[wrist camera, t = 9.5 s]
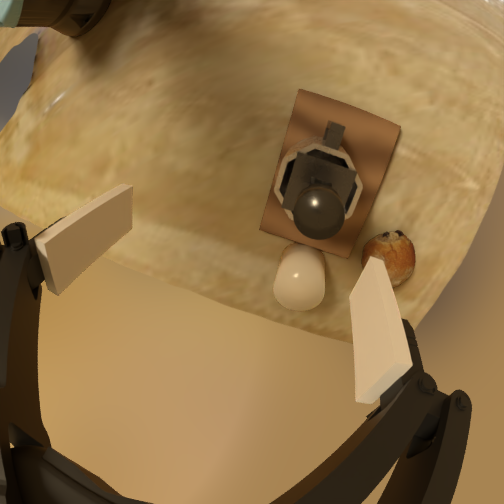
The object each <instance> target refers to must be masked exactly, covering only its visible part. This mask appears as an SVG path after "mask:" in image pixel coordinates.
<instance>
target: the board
mask: <svg viewBox="0 0 504 504" xmlns="http://www.w3.org/2000/svg"><path fill="white" fill-rule="evenodd" d="M328 120H330V121H333V122H336V123H339V124H341V125H343V126H345V127H346V128H345V131H344V134H343V137H342V141H341V144H340V145H341V146H342V147H343V148H344V150H345V151H346V152H347V154H348V155H349V157H350V159H351V161H352V163H353V165H354V167H355V169H356V171H357V174H358V176H359V178H360V180H361V182H362V185H363V189H362V191H361V194H360V197H359V199H358V202H357V204H356V206H355V209H354V211H353V214H352V216H350V218H348V219H345V220H344V224H343V226H342V228H341V229H340V231H339V232H338V233H337V234H336V235H334V236H333V237H331V238H328V239H324V240H315V239H310V238H308V237H306V236H304V235H303V234H302V233H301V232H300V231H299V230H298V229H297V227H296V226H295V223H294V221H293V220H291V218H290V219H289V217H288V215H287V213H286V212H285V210H284V208H281V206H282V205H281V203H280V201H279V199H278V198H277V196H276V194H275V192H274V187H275V184H276V180H277V177H278V173H279V170H280V166H281V163H282V159H283V158H284V156H285V155H286V153H287V152H288V150H289V149H290V148H291V147H292V146H294V145H296V144H297V143H298V142H300V141H302V140H304V139H306V138H310V137H312V136H314V137H315V136H318V137H323V136H324V133H325V130H326V126H327V123H328ZM400 128H401V126H399V125H397V124H394V123H392V122H390V121H388V120H386V119H383V118H381V117H379V116H376V115H374V114H372V113H369V112H367V111H364V110H362V109H359V108H356V107H354V106H351V105H348V104H346V103H343V102H340V101H337V100H334V99H331V98H328V97H325V96H322V95H319V94H316V93H312V92H309V91H306V90H302V89H299V90H298V94H297V97H296V101H295V104H294V108H293V111H292V115H291V119H290V122H289V126H288V129H287V133H286V136H285V140H284V143H283V147H282V151H281V154H280V158H279V161H278V165H277V168H276V172H275V175H274V179H273V183H272V186H271V190H270V193H269V197H268V200H267V204H266V207H265V211H264V215H263V218H262V222H261V225H260V229H259V230H262V231H265V232H268V233H271V234H275V235H278V236H281V237H284V238H287V239H290V240H293V241H296V242H299V243H302V244H305V245H308V246H311V247H314V248H317V249H320V250H323V251H326V252H329V253H332V254H335V255H338V256H341V257H344V258H346V259H348V257H349V255H350V252H351V250H352V248H353V246H354V244H355V242H356V240H357V237H358V235H359V233H360V231H361V229H362V226H363V224H364V222H365V219H366V217H367V215H368V213H369V210H370V208H371V205H372V203H373V201H374V198H375V196H376V193H377V191H378V188H379V186H380V183H381V181H382V178H383V176H384V173H385V170H386V168H387V165H388V162H389V160H390V157H391V154H392V151H393V148H394V146H395V143H396V140H397V137H398V134H399V131H400Z"/></svg>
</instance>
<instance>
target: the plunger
mask: <svg viewBox="0 0 504 504" xmlns="http://www.w3.org/2000/svg"><path fill="white" fill-rule="evenodd" d="M307 154H310V155H313V156H316V157H319V158H322V159H325V160H328V161H331V162H334V163H336V164H339V165H342V164H341V162H340V160H339V158H338V157H337V156H335V155H332V154H329V153H326V152H323V151H320V150H317V149H313V150H311V151H309V152H307ZM294 163H295V162H294ZM293 166H294V165H293ZM330 186H331V183H329V182H326V181H323V180H320V179H317V178H314V177H311V180H310V183H309V186H307V187H305V188H304V189H303V190H302V191H301V192H300V193H299V194H298V196H297V198H296V202H295V206H294V210H293V220H294V223H295V226H296V227H297V229H298V230H299V231H300V232H301V233H302V234H303V235H304V236H306V237H308V238H310V239H315V240H324V239H328V238H331V237H333V236H334V235H336V234H337V233H338V232H339V231H340V229H341V228H342V226H343V224H344V220H345V212H344V208H343V204H342V200H341V198H340V196H339V194H338V193H337V192H336V191H335V190H334V189H333V188H332V187H330Z"/></svg>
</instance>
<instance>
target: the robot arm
mask: <svg viewBox="0 0 504 504" xmlns="http://www.w3.org/2000/svg"><path fill="white" fill-rule="evenodd" d="M110 1H111V0H0V27H11V28H15V27H51V28H53V29H55V30H56V31H58V32H60V33H62V34H64V35H67V36H79V35H82V34H84V33H86V32H87V31H89V30H90V29H91V28H92V27H94V26H95V25H96V23H97V22H98V21H99V20H100V19H101V17H102V16H103V15H104V13H105V11H106V10H107V8H108V6H109V3H110ZM132 194H133V186H131V185H127V184H123V183H122V184H120V185H118V186H116V187H115V188H113V189H111V190H109V191H107V192H106V193H104V194H102V195H100V196H99V197H97V198H95V199H94V200H92V201H90V202H89V203H87V204H85V205H84V206H82V207H80V208H79V209H77V210H76V211H74V212H72V213H71V214H69V215H68V216H65V217H63V218H61V219H59V220H58V221H56V222H55V223H54V224H52V225H50V226H49V227H48V228H46V229H44V230H43V231H41V232H40V233H39V234H37V235H36V236H34V237H33V238H32V239H30V240H28V236H27V231H26V226H25V224H24V223H22V222H15V223H11V224H9V225H8V226H6V227H5V228H4V229H3V230H2V231H1V233H2V237H3V241H4V245H1V242H0V504H153V503H148V502H143V501H139V500H134V499H130V498H126V497H123V496H122V495H120V494H119V493H118V492H116V491H115V490H114V489H113V488H112V487H110V486H109V485H108V484H107V483H105V482H104V481H103V480H102V479H101V478H100V477H98V476H96V475H95V474H93V473H91V472H90V471H88V470H86V469H85V468H83V467H81V466H80V465H78V464H77V463H75V462H73V461H72V460H70V459H68V458H67V457H65V456H63V455H62V454H60V453H59V452H57V451H56V450H54V449H52V448H51V444H50V439H49V436H48V434H47V431H46V430H45V428H44V426H43V423H42V419H41V411H40V401H39V388H38V363H37V362H38V357H37V356H38V351H37V350H38V327H39V313H40V303H41V294H42V286H41V283H42V282H43V281H44V280H45V282H46V285H47V288H48V290H49V291H51V292H53V293H54V294H56V295H58V296H59V294H61V293H62V291H64V290H65V289H66V288H67V287H68V286H69V285H70V284H71V283H72V282H73V281H74V280H75V279H76V278H77V277H78V276H79V275H80V274H81V273H82V272H83V271H85V270H86V269H87V268H88V267H89V266H90V265H91V264H92V263H93V262H94V261H95V260H96V259H97V258H99V257H100V256H101V255H102V254H103V253H104V252H106V251H107V250H108V249H109V248H110V247H111V246H112V245H114V244H115V243H116V242H117V241H118V240H119V239H121V238H122V237H123V236H124V235H125V234H127V233H128V232H129V231H130V230H131V229H132ZM349 300H350V310H351V321H352V333H353V347H354V365H355V398H356V399H355V401H356V402H361V403H369V404H372V403H373V402H374V401H376V400H377V399H378V398H379V397H380V406H379V407H377V408H376V409H375V410H374V411H372V412H371V413H370V414H369V415H367V416H366V417H367V419H366V421H365V422H364V423H363V424H362V425H361V426H360V427H359V428H358V429H357V430H356V431H355V432H354V433H353V434H352V435H351V436H350V437H349V438H348V439H347V440H346V441H345V442H344V443H343V444H342V445H341V446H340V447H339V448H338V449H337V450H336V451H335V452H334V453H333V454H332V455H331V456H330V457H328V458H327V459H326V460H325V461H324V462H323V463H322V464H321V465H319V466H318V467H317V468H316V469H315V470H314V471H312V472H311V473H310V474H309V475H308V476H306V477H305V478H304V479H303V480H301V481H300V482H299V483H297V484H296V485H295V486H294V487H292V488H291V489H290V490H288V491H287V492H285V493H284V494H283V495H281V496H280V497H279V498H277V499H276V500H274V501H273V502H271V503H270V504H361V503H362V502H363V501H364V500H365V499H366V498H367V497H368V496H369V494H370V493H371V492H372V491H373V490H374V488H375V487H376V486H377V485H378V484H379V482H380V481H381V480H382V479H383V478H384V477H385V475H386V474H387V473H388V472H389V470H390V469H391V467H392V466H393V465H394V464H395V462H396V461H397V459H398V458H399V459H398V462H397V464H396V466H395V469H394V471H393V473H392V475H391V478H390V479H389V481H388V484H387V486H386V488H385V490H384V491H383V493H382V496H381V497H380V499H379V501H378V503H377V504H451V501H452V498H453V495H454V492H455V489H456V486H457V482H458V479H459V475H460V471H461V467H462V463H463V459H464V454H465V450H466V445H467V439H468V433H469V427H470V419H471V412H472V404H471V401H470V398H469V397H468V395H467V394H466V393H465V392H464V391H462V390H455V391H454V392H453V393H452V394H451V395H449V396H448V395H446V394H444V393H442V392H440V391H438V390H437V385H436V382H435V380H434V379H433V378H432V377H431V376H430V375H429V374H427V373H425V372H424V370H423V365H422V361H421V357H420V353H419V349H418V347H417V346H418V345H417V341H416V340H415V334H414V330H413V328H412V327H411V325H410V323H409V322H408V320H405V319H402V318H401V316H400V312H399V308H398V305H397V302H396V298H395V295H394V292H393V289H392V285H391V282H390V279H389V276H388V273H387V270H386V267H385V265H384V262H383V260H380V259H377V258H374V257H372V256H370V258H369V260H368V262H367V264H366V266H365V268H364V270H363V272H362V274H361V275H360V277H359V279H358V281H357V283H356V285H355V287H354V288H353V290H352V292H351V294H350V296H349ZM10 443H12V444H13V446H14V448H10Z"/></svg>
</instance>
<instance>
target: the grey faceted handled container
mask: <svg viewBox="0 0 504 504" xmlns="http://www.w3.org/2000/svg"><path fill="white" fill-rule="evenodd" d="M345 128H346V127H345V126H343V125H341V124H339V123H336V122H333V121H330V120H328V123H327V126H326V130H325V133H324V136H323V137H318V136H315V137H314V136H312V137H310V138H306V139H304V140H302V141H300V142H298V143H297V144H296V145H294V146H292V147H291V148H290V149H289V150H288V152H287V153H286V155H285V156H284V158H283V159H282V163H281V166H280V170H279V173H278V177H277V180H276V184H275V187H274V192H275V194H276V196H277V198H278V199H279V201H280V203H281V205H282V206H281V208H284V210H285V212H286V213H287V215H288V217H289V219H290V218H291V220H293V210H294V206H295V202H296V198H297V196H298V194H299V193H300V192H301V191H302V190H303V189H304V188H305V187H307V186H309V183H310V180H311V177H314V178H317V179H320V180H323V181H326V182H329V183H331V186H330V187H332V188H333V189H334V190H335V191H336V192H337V193H338V194H339V196H340V198H341V200H342V204H343V208H344V212H345V219H348V218H350V216H352V214H353V211H354V209H355V206H356V204H357V202H358V199H359V197H360V194H361V191H362V189H363V185H362V182H361V180H360V178H359V176H358V174H357V171H356V169H355V167H354V165H353V163H352V161H351V159H350V157H349V155H348V154H347V152H346V151H345V150H344V148H343V147H342V146H341V145H340V144H341V141H342V137H343V134H344V131H345ZM313 149H317V150H320V151H323V152H326V153H329V154H332V155H335V156H337V157H338V158H339V160H340V162H341V164H342V165H339V164H336V163H334V162H331V161H328V160H325V159H322V158H319V157H316V156H313V155H310V154H307V152H309V151H311V150H313ZM294 162H295V163H294ZM293 165H294V166H293ZM293 221H294V220H293Z"/></svg>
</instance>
